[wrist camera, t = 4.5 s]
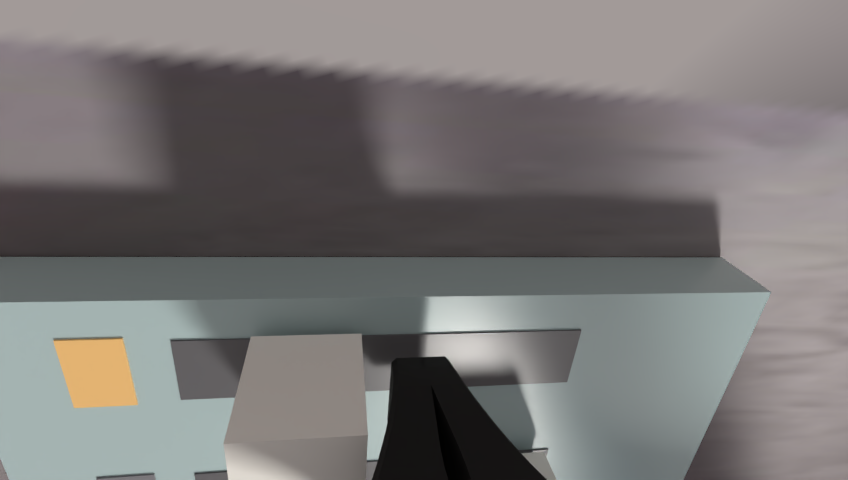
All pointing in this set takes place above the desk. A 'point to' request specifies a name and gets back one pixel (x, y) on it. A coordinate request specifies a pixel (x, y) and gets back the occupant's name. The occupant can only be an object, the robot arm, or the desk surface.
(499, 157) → the desk surface
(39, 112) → the desk surface
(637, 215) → the desk surface
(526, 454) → the tab
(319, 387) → the tab
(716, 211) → the desk surface
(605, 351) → the switch board
